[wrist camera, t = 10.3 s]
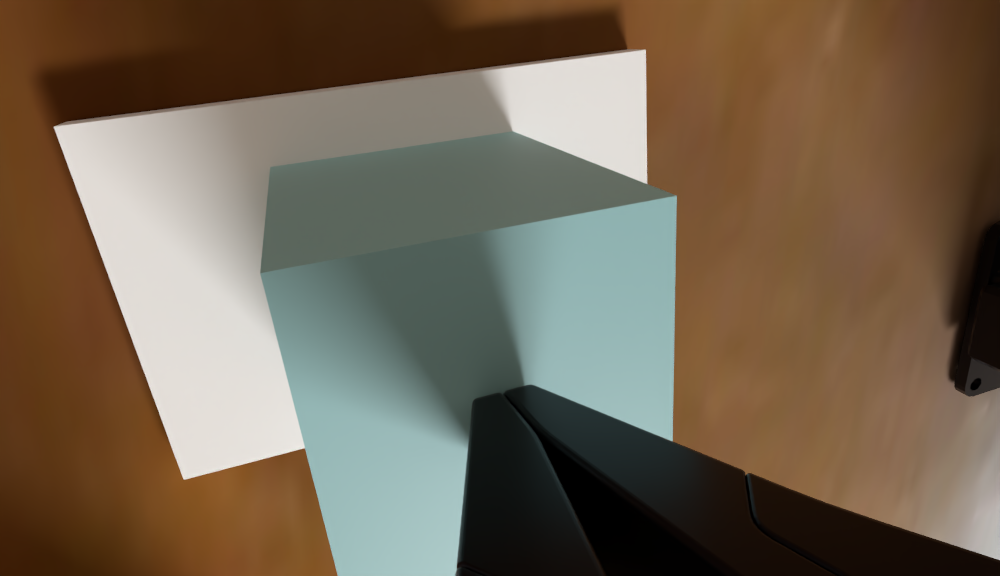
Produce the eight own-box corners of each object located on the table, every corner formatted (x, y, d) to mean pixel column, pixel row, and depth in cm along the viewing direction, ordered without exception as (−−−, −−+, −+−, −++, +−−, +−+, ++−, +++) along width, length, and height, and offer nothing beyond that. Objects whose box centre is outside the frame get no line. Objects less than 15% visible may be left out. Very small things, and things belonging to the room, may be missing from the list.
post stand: (629, 49, 15) (837, 54, 9) (634, 345, 18) (794, 483, 13) (66, 121, 12) (-123, 192, 7) (188, 459, 15) (133, 706, 10)
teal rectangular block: (513, 131, 14) (676, 195, 8) (530, 338, 16) (671, 508, 10) (270, 167, 13) (260, 273, 7) (322, 387, 15) (347, 612, 9)
